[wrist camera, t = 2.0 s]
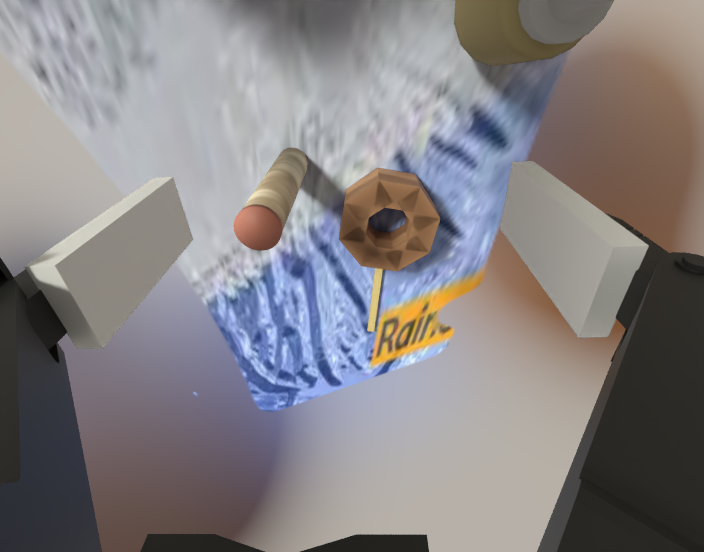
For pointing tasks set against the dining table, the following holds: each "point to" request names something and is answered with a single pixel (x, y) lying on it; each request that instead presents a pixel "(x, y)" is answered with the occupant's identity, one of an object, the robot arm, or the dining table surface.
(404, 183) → the walnut bead
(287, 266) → the dining table surface
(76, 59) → the dining table surface
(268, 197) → the needle dowel
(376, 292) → the pale yellow wooden rod
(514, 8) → the squeeze bottle
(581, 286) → the robot arm
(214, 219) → the dining table surface
